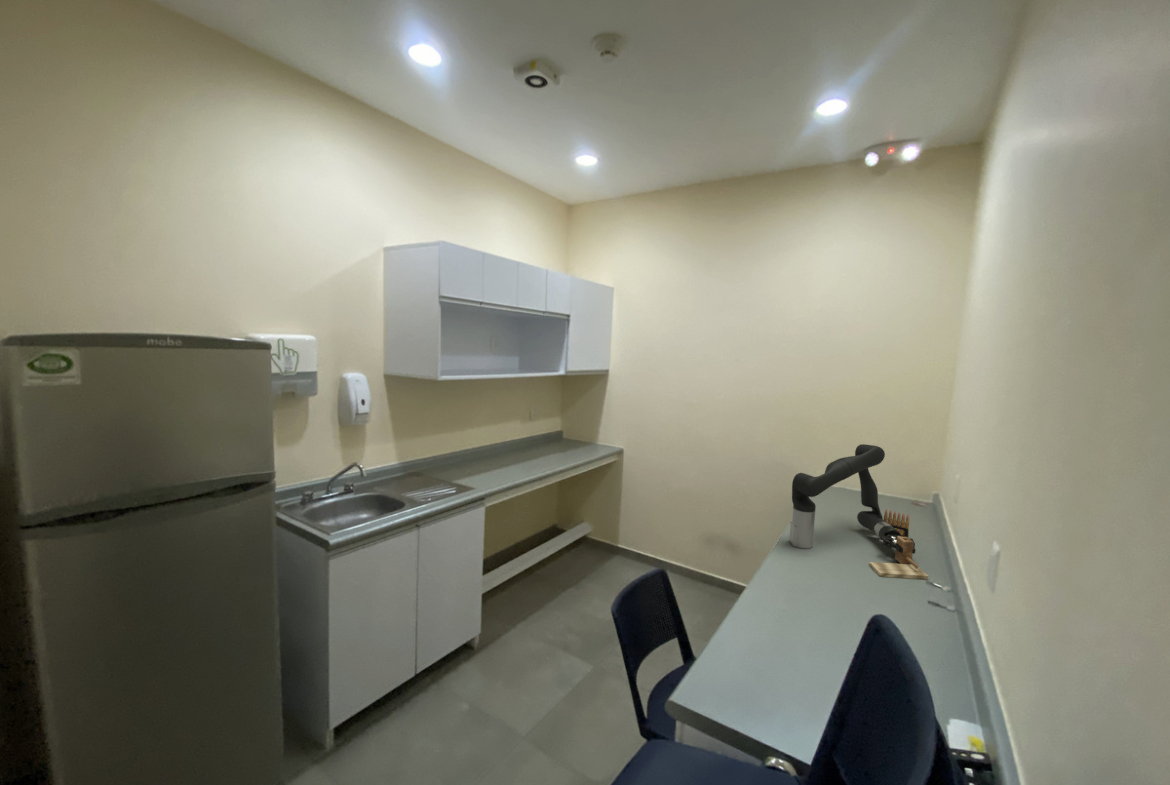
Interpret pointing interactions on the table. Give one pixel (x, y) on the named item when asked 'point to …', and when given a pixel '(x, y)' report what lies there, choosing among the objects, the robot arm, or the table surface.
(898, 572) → the board
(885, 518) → the ammunition clip
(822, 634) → the table surface
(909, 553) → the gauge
